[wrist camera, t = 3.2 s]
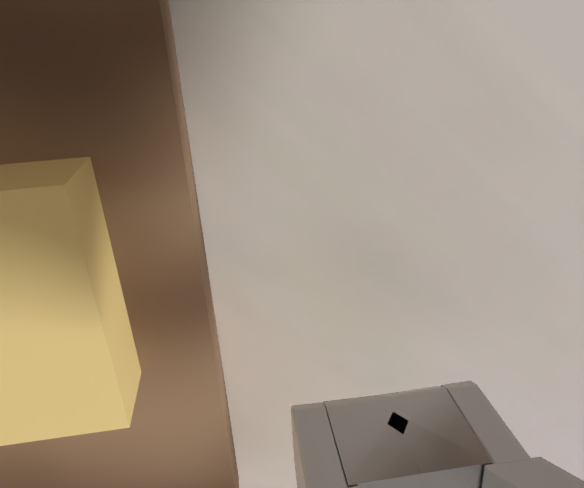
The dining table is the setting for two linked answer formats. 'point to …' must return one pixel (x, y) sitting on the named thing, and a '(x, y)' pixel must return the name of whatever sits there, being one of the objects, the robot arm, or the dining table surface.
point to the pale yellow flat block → (60, 308)
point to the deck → (124, 233)
